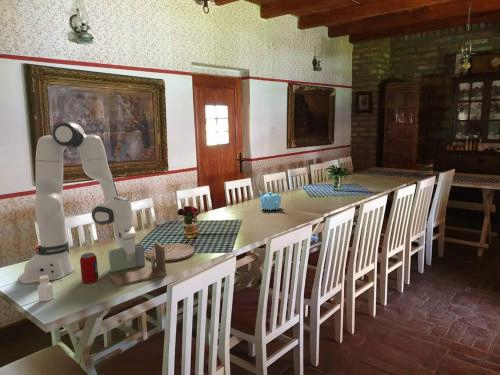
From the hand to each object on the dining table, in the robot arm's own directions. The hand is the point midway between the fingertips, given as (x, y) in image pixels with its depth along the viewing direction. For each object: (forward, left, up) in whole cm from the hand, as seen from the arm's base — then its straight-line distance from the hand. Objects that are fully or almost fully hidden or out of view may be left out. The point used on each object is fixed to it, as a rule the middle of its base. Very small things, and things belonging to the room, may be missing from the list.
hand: (126, 258), depth 180 cm
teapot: (+125, +55, -5) cm, 137 cm away
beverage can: (-18, -6, -5) cm, 19 cm away
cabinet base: (+1, -14, -5) cm, 15 cm away
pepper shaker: (-36, -15, -5) cm, 39 cm away
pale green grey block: (0, 0, -5) cm, 5 cm away
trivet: (+24, +6, -5) cm, 26 cm away
